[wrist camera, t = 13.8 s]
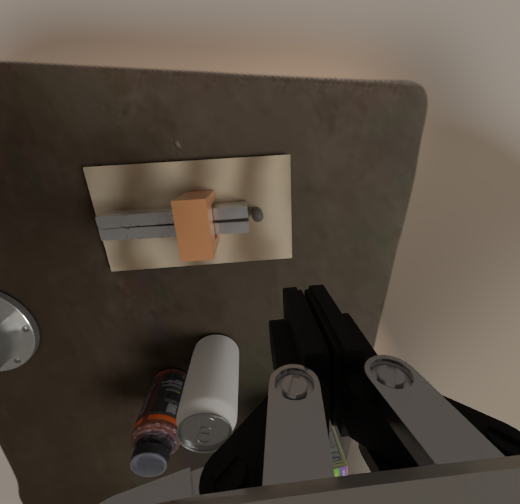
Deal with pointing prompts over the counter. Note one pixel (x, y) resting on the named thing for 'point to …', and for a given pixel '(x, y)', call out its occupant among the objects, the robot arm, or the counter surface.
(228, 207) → the jaw
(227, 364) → the can
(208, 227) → the orange notched block
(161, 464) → the supplement bottle
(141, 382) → the counter surface
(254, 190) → the tongs board
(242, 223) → the bar
